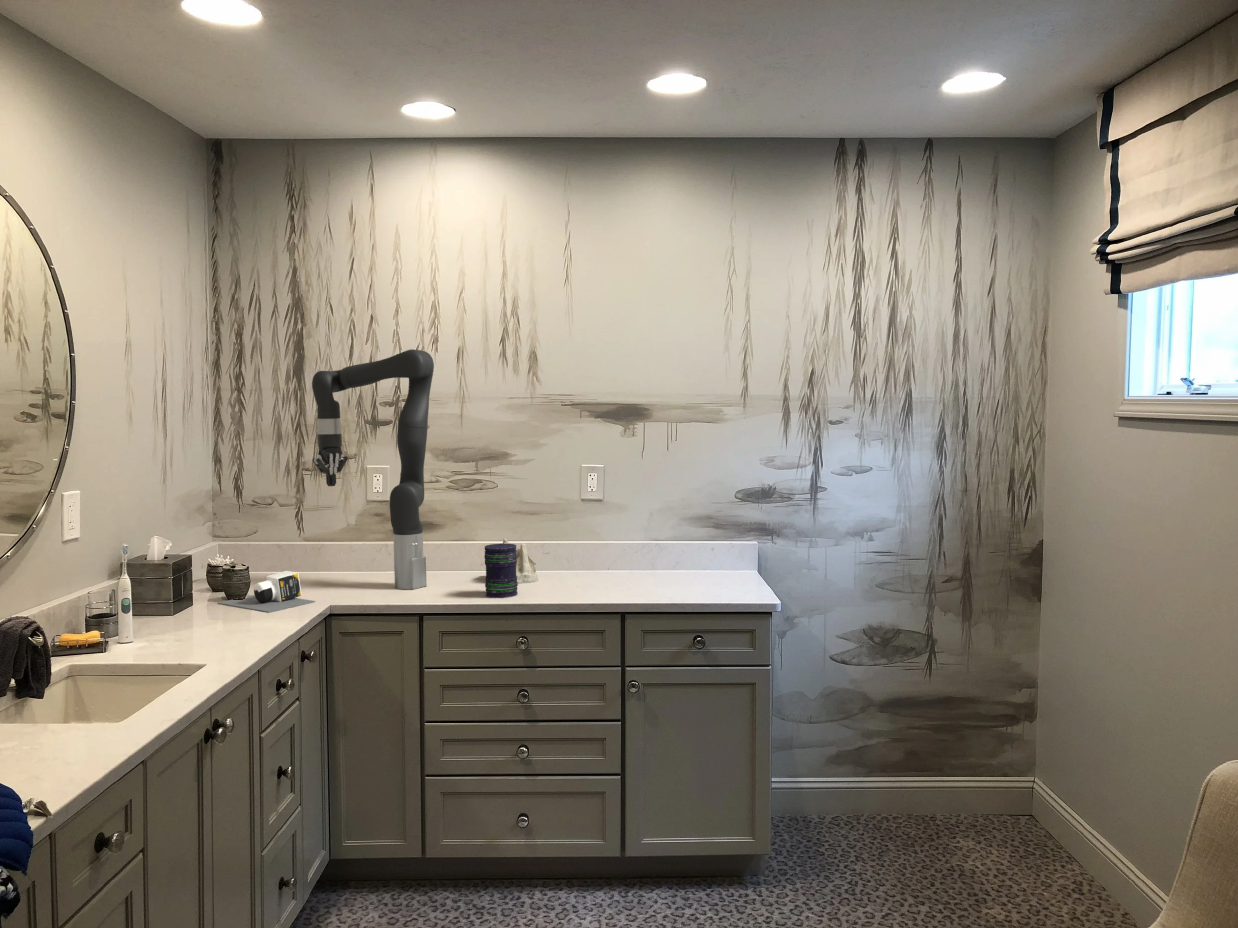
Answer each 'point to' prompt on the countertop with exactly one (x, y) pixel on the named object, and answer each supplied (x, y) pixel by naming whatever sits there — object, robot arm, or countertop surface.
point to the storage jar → (501, 570)
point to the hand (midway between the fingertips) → (331, 485)
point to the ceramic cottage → (524, 566)
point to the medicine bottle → (278, 587)
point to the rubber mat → (266, 604)
